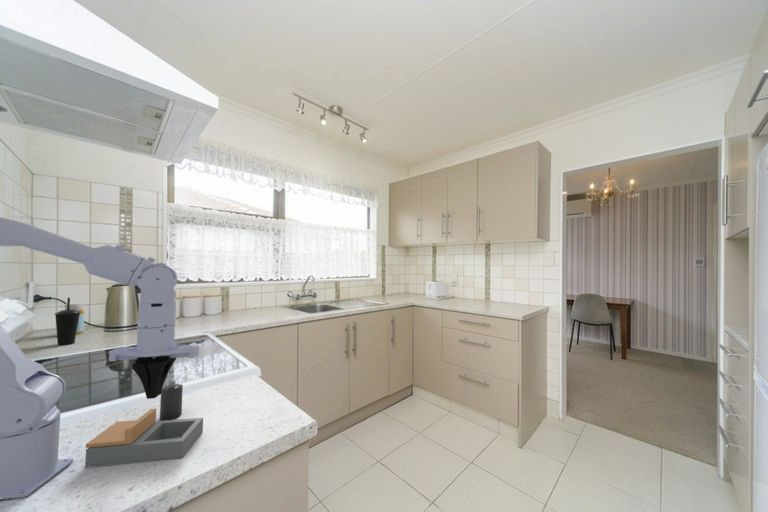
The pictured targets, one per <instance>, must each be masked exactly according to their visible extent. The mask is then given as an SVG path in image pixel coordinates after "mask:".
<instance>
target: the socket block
mask: <svg viewBox="0 0 768 512" xmlns="http://www.w3.org/2000/svg"><path fill="white" fill-rule="evenodd" d="M203 433H204V417H195V418H194V417H193V418H192V417H191V418H183V419H182V418H181V419H180V418H179V419H173V420H165V421H161V420H156V422H155V423H154V424H153V425H152V426H150V427H149V428H148V429H147V430H146V431H145V432H144V433H142V434H141V435H140V436H139V437H138V438H137V439H136V440H134V441H133V442H132V443H131V444H122V445H111V446H100V447H88V448H85V464H84V468H85V467H86V468H89V467H88V466H96V467H102V466H103V465H106V466H113V465H114V466H115V465H124V464H136V463H146V462H157V461H165V460H167V461H168V460H177V459H183V458H184V456H185V455H186V454H188V452H189V450H190V449H191V448H192V447H193V445H194V444H195V443H196V441H197V440H198V439H199V438H200V436H201V435H202V434H203ZM103 467H104V466H103Z"/></svg>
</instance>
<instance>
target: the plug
mask: <svg viewBox="0 0 768 512" xmlns="http://www.w3.org/2000/svg"><path fill="white" fill-rule="evenodd" d="M183 386H184V385H183V384H182V383H176V379H172V380H169V381H168V385H166V386H164V387H162V391H161V394H160V402H159V403H160V405H159V406H160V407H159V421H165V420H177V419H178V418H180V417H181V416H182V409H183V407H182V406H183V389H184V388H183Z"/></svg>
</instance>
